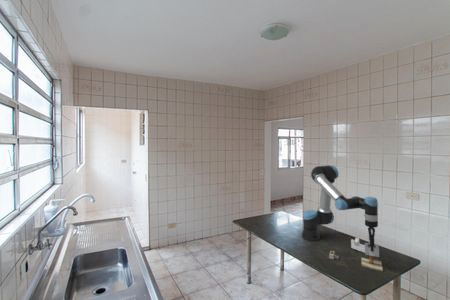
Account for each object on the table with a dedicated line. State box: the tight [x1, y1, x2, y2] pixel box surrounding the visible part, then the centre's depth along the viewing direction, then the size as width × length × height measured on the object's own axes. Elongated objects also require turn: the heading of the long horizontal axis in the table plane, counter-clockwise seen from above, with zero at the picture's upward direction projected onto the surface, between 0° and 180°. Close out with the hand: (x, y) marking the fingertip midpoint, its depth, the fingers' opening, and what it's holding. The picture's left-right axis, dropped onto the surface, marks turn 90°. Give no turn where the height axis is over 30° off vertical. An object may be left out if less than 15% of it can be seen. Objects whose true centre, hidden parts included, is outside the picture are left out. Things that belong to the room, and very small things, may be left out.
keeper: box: [360, 255, 384, 272], centre depth 163 cm, size 12×12×7 cm
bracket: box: [350, 237, 365, 254], centre depth 184 cm, size 13×7×8 cm, turn 32°
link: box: [364, 242, 380, 258], centre depth 163 cm, size 8×8×5 cm
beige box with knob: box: [328, 250, 336, 260], centre depth 176 cm, size 6×3×4 cm, turn 151°
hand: (371, 252), depth 163 cm, fingers closed on link, 8 cm apart
